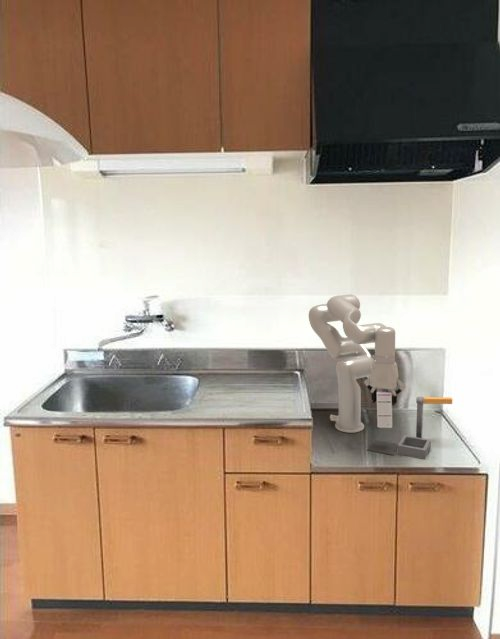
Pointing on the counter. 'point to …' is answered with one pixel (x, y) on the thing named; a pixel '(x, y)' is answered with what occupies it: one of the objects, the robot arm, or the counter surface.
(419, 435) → the clip post
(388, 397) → the syrup box
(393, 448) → the mat
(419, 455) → the collar
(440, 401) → the bar
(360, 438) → the counter surface
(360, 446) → the counter surface
